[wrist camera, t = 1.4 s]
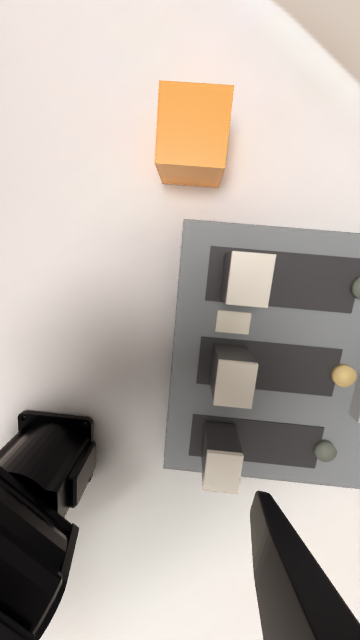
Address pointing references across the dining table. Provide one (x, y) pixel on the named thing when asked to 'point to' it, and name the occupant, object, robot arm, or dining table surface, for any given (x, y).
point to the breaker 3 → (221, 457)
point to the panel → (272, 353)
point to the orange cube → (192, 132)
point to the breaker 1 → (247, 278)
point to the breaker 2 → (233, 376)
